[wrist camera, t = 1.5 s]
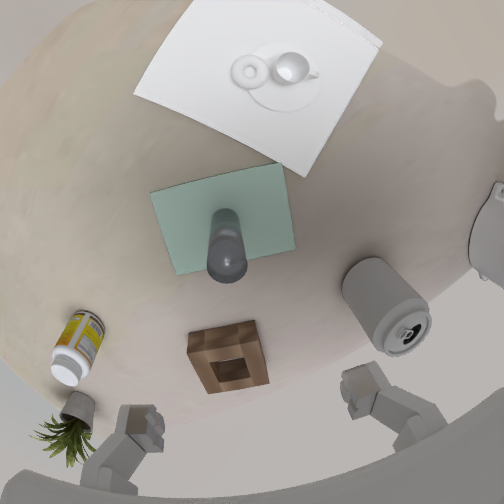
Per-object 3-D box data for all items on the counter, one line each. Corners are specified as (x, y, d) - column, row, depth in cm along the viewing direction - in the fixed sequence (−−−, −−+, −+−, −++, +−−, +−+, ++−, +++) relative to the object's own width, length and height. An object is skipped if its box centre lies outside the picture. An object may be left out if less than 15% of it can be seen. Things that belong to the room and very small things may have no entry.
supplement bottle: (71, 329, 34) (45, 377, 25) (75, 303, 32) (44, 352, 23) (102, 344, 36) (82, 396, 26) (109, 320, 34) (85, 374, 25)
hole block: (254, 319, 36) (258, 340, 32) (265, 363, 40) (269, 383, 36) (188, 332, 36) (186, 353, 32) (208, 374, 40) (208, 394, 36)
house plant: (75, 365, 37) (45, 441, 23) (130, 408, 43) (118, 481, 28) (43, 382, 39) (18, 443, 25) (92, 419, 45) (77, 479, 30)
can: (369, 307, 37) (408, 365, 27) (329, 295, 36) (365, 359, 25) (396, 264, 35) (447, 314, 24) (358, 246, 33) (410, 300, 22)
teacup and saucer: (220, 85, 23) (221, 77, 20) (259, 26, 21) (266, 11, 17) (297, 126, 26) (310, 125, 22) (332, 68, 24) (348, 60, 20)
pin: (235, 205, 29) (242, 243, 20) (241, 231, 30) (251, 278, 21) (208, 211, 29) (201, 252, 20) (214, 237, 30) (212, 287, 21)
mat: (281, 161, 28) (281, 162, 27) (294, 247, 32) (295, 249, 32) (150, 192, 28) (149, 193, 27) (177, 274, 32) (176, 275, 32)
